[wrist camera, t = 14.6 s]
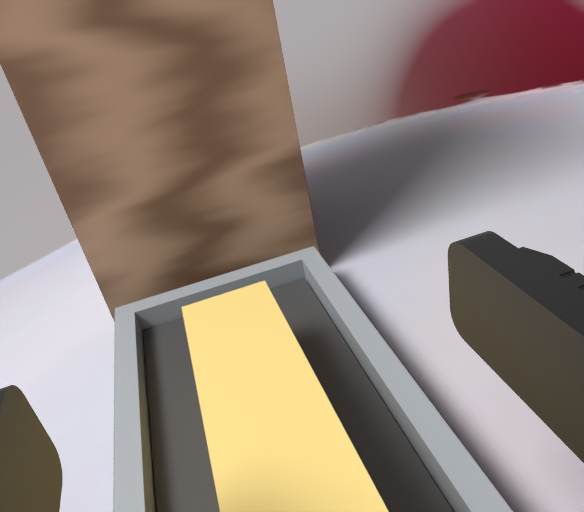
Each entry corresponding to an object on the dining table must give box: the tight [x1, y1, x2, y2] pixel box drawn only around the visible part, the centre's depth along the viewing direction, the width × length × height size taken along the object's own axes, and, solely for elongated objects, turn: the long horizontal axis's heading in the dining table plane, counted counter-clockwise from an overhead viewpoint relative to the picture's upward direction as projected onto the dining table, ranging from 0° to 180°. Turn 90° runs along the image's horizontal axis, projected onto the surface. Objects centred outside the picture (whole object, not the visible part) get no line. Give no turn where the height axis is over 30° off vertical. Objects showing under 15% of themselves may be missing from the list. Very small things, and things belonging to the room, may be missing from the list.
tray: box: [113, 246, 513, 512], centre depth 18 cm, size 11×25×2 cm, turn 17°
